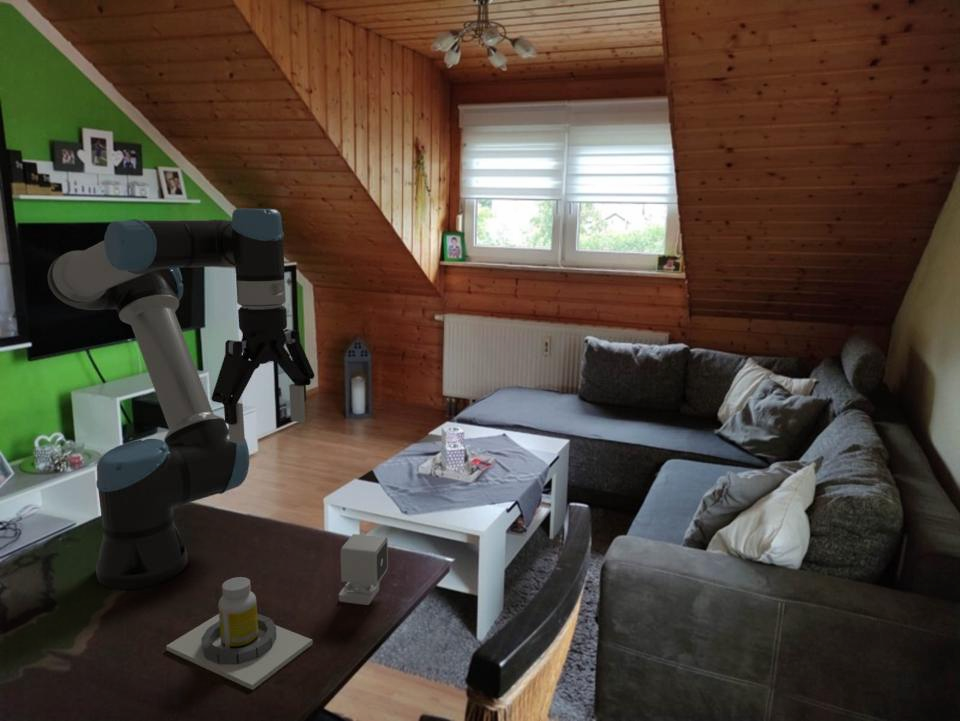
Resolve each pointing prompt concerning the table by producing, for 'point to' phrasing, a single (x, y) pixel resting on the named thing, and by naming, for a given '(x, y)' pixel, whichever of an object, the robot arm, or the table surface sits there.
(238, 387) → the robot arm
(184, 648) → the socket board
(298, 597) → the table surface
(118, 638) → the table surface
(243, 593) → the supplement bottle
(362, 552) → the security camera
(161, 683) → the table surface
